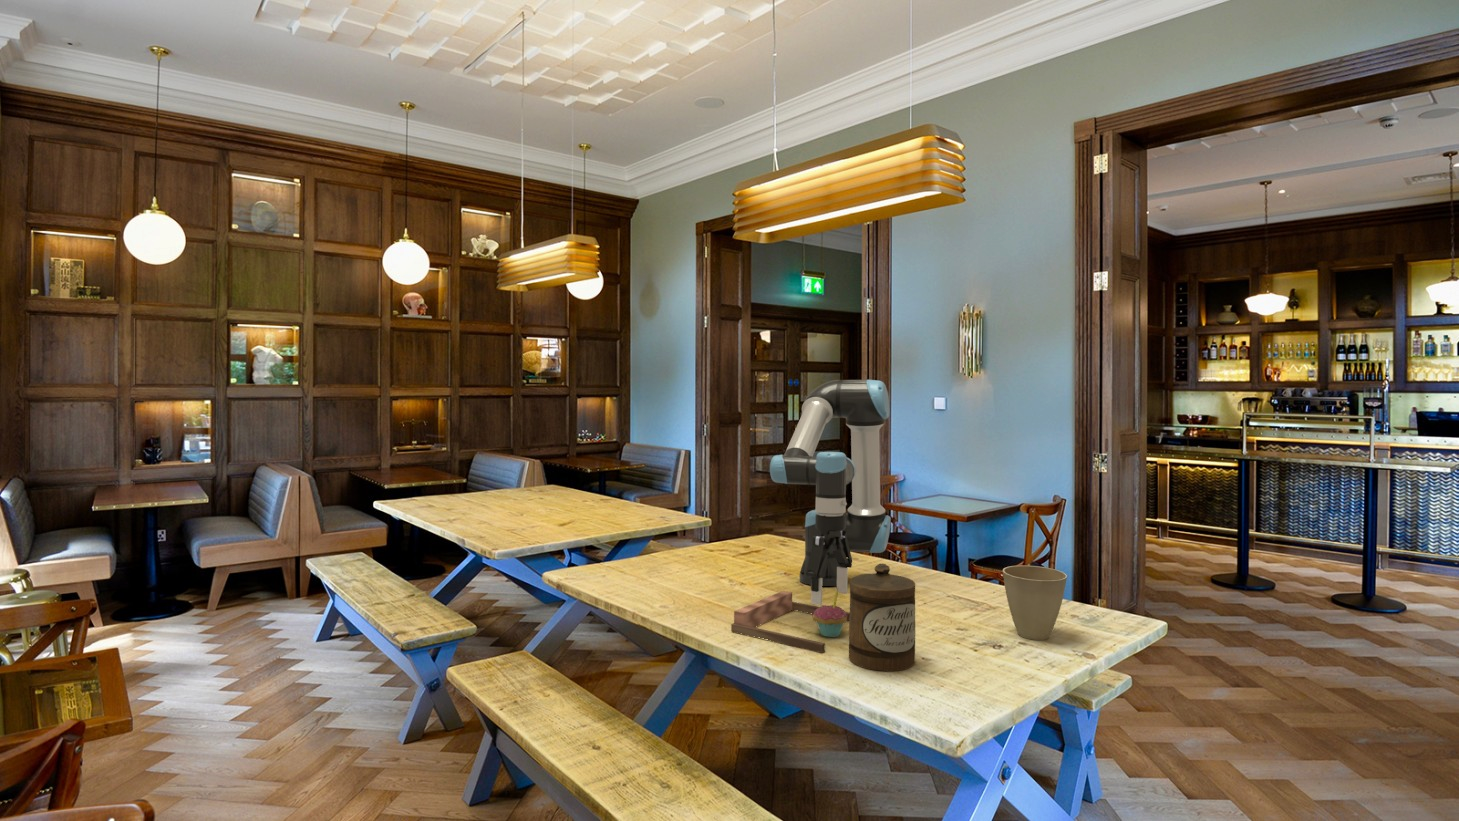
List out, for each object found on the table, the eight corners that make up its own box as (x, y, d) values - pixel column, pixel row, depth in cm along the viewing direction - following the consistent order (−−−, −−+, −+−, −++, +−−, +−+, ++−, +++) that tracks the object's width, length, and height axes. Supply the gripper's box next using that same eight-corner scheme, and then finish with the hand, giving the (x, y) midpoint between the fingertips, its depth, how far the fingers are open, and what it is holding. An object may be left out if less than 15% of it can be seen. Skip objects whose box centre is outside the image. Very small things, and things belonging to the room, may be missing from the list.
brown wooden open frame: (785, 607, 212) (785, 589, 212) (870, 624, 197) (870, 605, 197) (731, 631, 191) (731, 612, 191) (822, 653, 176) (822, 631, 176)
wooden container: (872, 676, 162) (873, 574, 161) (836, 653, 176) (837, 560, 175) (928, 666, 168) (929, 568, 167) (889, 645, 182) (890, 554, 181)
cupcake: (850, 631, 192) (851, 584, 191) (841, 641, 184) (841, 592, 184) (818, 626, 195) (818, 580, 195) (807, 636, 188) (808, 588, 187)
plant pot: (989, 630, 193) (989, 568, 192) (1033, 623, 199) (1034, 563, 198) (1033, 649, 179) (1034, 582, 179) (1079, 640, 185) (1080, 576, 185)
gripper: (819, 521, 176) (818, 612, 177) (865, 509, 197) (864, 590, 197) (792, 518, 181) (791, 606, 181) (839, 506, 201) (839, 586, 201)
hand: (829, 598), depth 189 cm, fingers open, 13 cm apart
